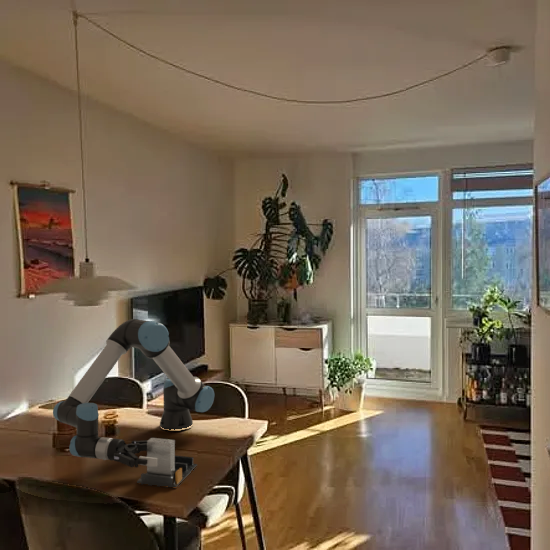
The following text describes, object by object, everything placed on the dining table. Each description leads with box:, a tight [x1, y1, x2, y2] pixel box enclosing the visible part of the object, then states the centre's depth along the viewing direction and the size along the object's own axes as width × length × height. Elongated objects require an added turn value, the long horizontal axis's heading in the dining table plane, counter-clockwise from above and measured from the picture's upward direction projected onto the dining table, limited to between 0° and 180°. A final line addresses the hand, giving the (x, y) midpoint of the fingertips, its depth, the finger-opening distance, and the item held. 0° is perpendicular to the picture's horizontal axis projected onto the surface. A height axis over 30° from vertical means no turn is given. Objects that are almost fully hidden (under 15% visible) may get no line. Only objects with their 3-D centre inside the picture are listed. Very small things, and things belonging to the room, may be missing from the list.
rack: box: [136, 454, 198, 488], centre depth 193 cm, size 19×15×5 cm
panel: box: [146, 437, 176, 479], centre depth 187 cm, size 4×9×14 cm, turn 77°
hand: (165, 454), depth 187 cm, fingers open, 13 cm apart
